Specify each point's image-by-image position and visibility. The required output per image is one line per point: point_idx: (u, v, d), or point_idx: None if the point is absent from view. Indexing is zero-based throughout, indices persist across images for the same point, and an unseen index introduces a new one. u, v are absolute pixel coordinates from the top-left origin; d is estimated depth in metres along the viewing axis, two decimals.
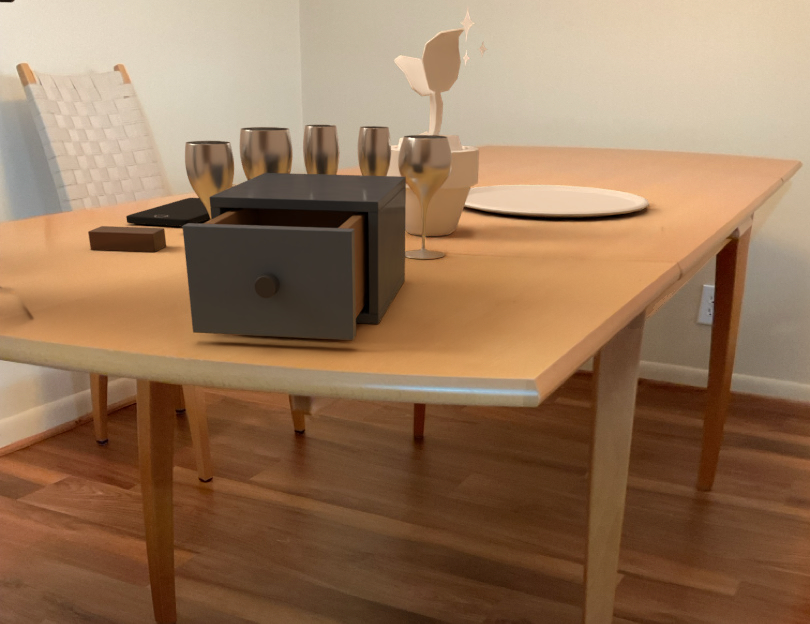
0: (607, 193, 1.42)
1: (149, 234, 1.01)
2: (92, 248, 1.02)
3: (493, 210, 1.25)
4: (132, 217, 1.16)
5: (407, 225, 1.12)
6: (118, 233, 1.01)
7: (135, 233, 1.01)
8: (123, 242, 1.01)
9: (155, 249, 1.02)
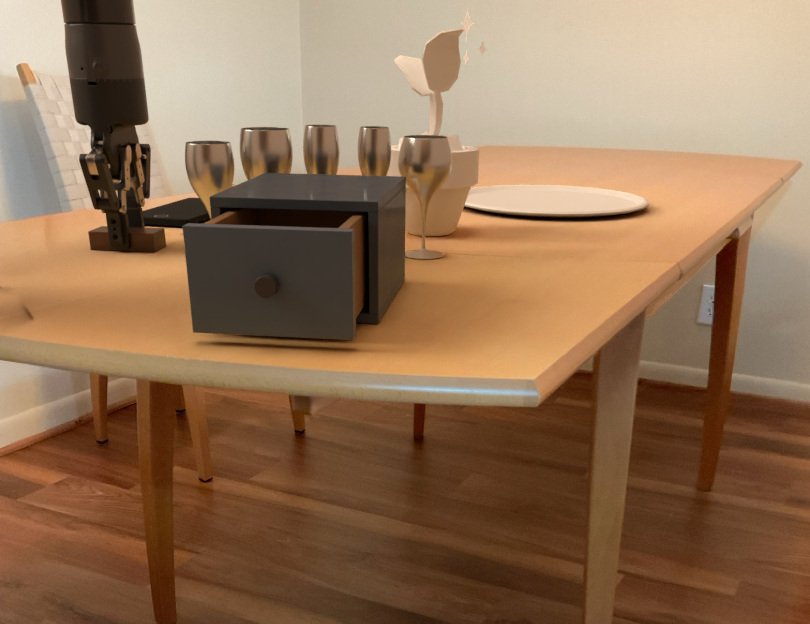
0: (607, 193, 1.42)
1: (149, 234, 1.01)
2: (92, 248, 1.02)
3: (493, 210, 1.25)
4: None
5: (407, 225, 1.12)
6: None
7: (135, 233, 1.01)
8: None
9: (155, 249, 1.02)
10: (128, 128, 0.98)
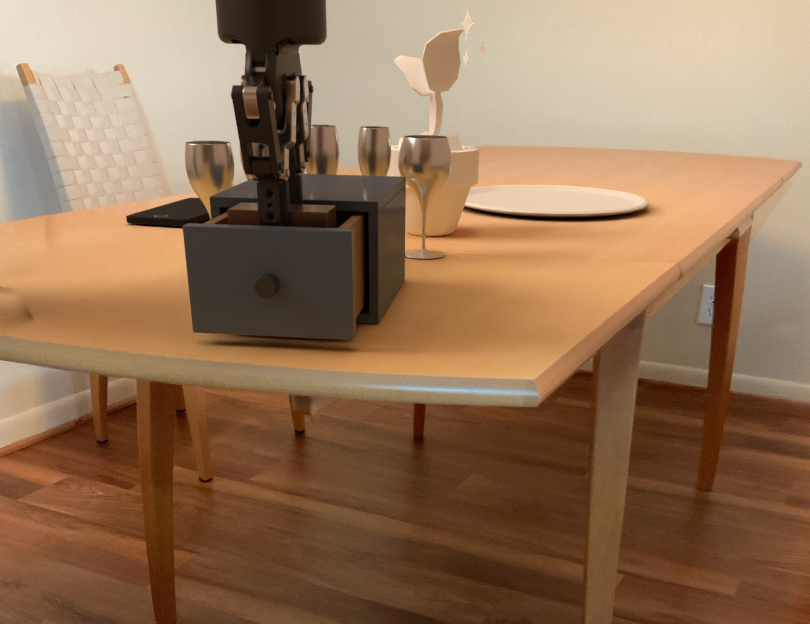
0: (607, 193, 1.42)
1: (321, 213, 0.67)
2: None
3: (493, 210, 1.25)
4: (132, 217, 1.16)
5: (407, 225, 1.12)
6: None
7: (299, 212, 0.67)
8: None
9: None
10: (293, 51, 0.65)
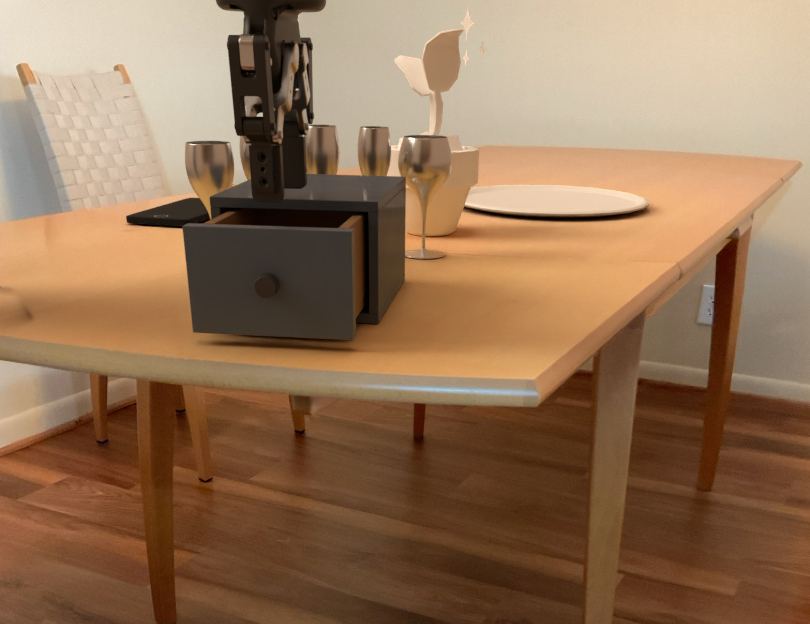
0: (607, 193, 1.42)
1: None
2: None
3: (493, 210, 1.25)
4: (132, 217, 1.16)
5: (407, 225, 1.12)
6: None
7: None
8: None
9: None
10: (292, 18, 0.64)
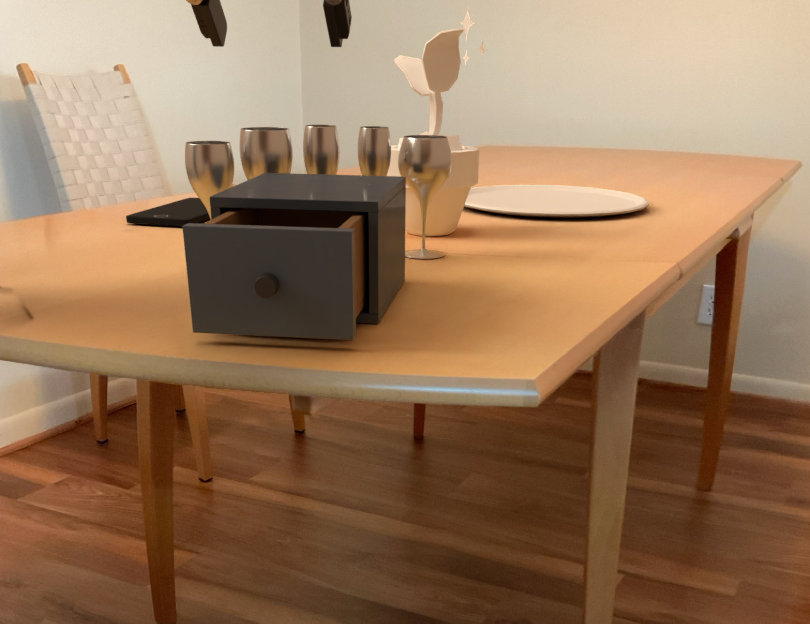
0: (607, 193, 1.42)
1: None
2: None
3: (493, 210, 1.25)
4: (132, 217, 1.16)
5: (407, 225, 1.12)
6: None
7: None
8: None
9: None
10: None
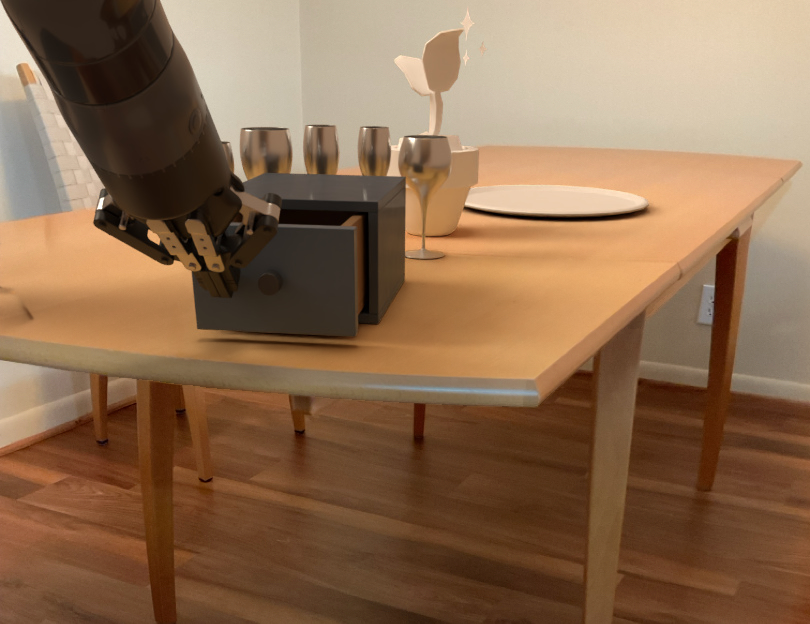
0: (607, 193, 1.42)
1: None
2: None
3: (493, 210, 1.25)
4: None
5: (407, 225, 1.12)
6: None
7: None
8: None
9: None
10: None
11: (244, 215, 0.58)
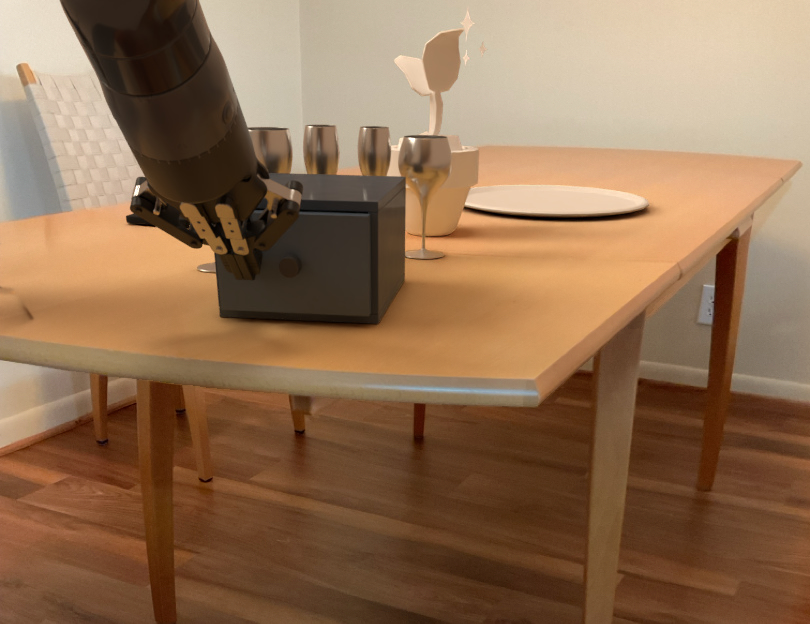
0: (607, 193, 1.42)
1: None
2: None
3: (493, 210, 1.25)
4: (132, 217, 1.16)
5: (407, 225, 1.12)
6: None
7: None
8: None
9: None
10: None
11: (269, 200, 0.64)
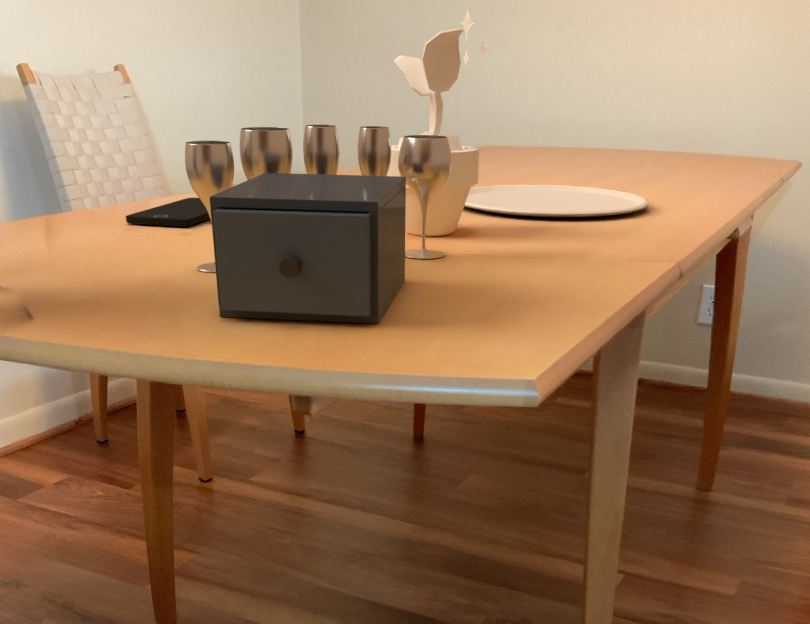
0: (607, 193, 1.42)
1: None
2: None
3: (493, 210, 1.25)
4: (132, 217, 1.16)
5: (407, 225, 1.12)
6: None
7: None
8: None
9: None
10: None
11: None
